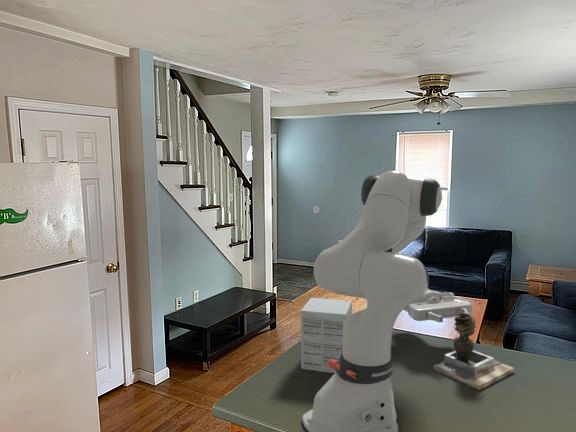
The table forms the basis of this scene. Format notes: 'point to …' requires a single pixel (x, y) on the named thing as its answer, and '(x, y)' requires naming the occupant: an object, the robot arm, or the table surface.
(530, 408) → the table surface
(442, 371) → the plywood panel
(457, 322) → the light bulb
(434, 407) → the table surface
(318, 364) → the supplement box
